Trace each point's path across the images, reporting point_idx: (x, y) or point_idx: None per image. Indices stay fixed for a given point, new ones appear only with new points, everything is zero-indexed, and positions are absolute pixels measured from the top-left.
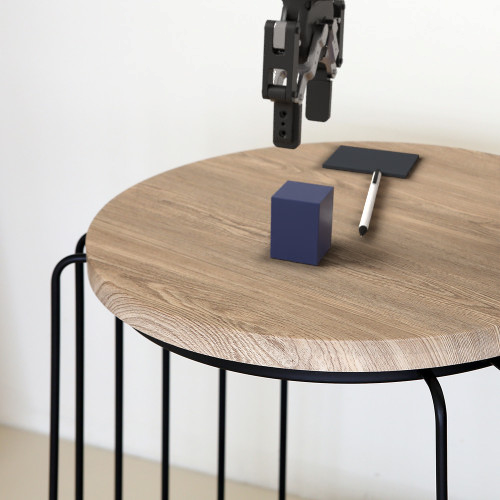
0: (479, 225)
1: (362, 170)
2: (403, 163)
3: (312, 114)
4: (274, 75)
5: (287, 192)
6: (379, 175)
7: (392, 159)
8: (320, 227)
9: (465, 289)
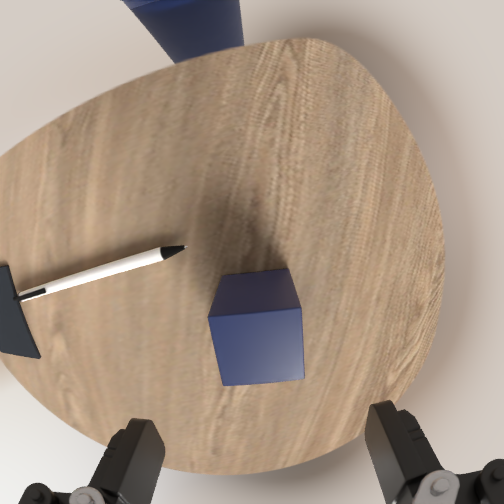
0: (68, 129)
1: (22, 315)
2: None
3: (158, 450)
4: None
5: (276, 368)
6: (24, 292)
7: None
8: (285, 288)
9: (257, 74)
